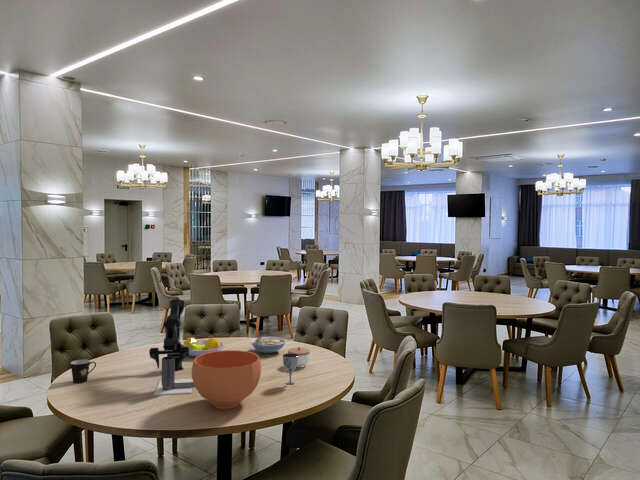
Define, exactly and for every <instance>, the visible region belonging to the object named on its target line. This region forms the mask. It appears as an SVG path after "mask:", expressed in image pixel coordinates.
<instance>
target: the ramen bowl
mask: <svg viewBox="0 0 640 480" xmlns="http://www.w3.org/2000/svg"><path fill="white" fill-rule="evenodd" d="M286 342H287V340H286V339H284V338H282V337H278V336H263V334H261V335H260V334H259V335H258V337H256V338H253V339H251V340H250V343H251V345H252V347H253V348H254V350H256V351H258V352H261V353H263V354H267V353H270V354H274V353H276V352H279V350H281V349H282V348H283V347H284V346H285V345H286ZM273 352H274V353H273Z"/></svg>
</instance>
